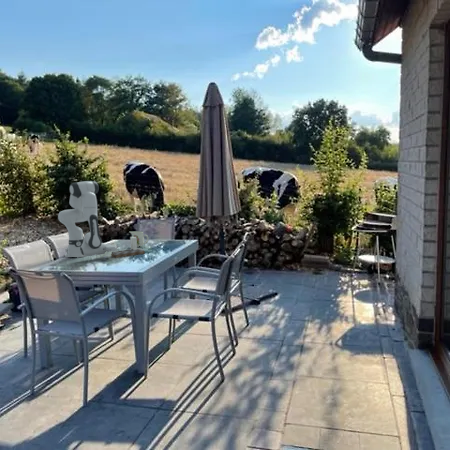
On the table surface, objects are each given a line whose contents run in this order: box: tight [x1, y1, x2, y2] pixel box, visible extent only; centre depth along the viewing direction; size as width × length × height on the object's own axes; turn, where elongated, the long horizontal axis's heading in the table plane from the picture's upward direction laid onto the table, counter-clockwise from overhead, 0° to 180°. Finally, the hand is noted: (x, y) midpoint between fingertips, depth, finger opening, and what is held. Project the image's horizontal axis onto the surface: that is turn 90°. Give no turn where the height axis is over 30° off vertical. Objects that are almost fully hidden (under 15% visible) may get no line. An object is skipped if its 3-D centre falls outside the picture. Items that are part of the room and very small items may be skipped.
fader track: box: [110, 247, 145, 259], centre depth 383 cm, size 25×10×4 cm, turn 124°
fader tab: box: [129, 236, 138, 251], centre depth 385 cm, size 4×6×12 cm, turn 34°
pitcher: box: [129, 230, 149, 248], centre depth 423 cm, size 11×18×14 cm, turn 79°
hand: (118, 246), depth 378 cm, fingers closed
